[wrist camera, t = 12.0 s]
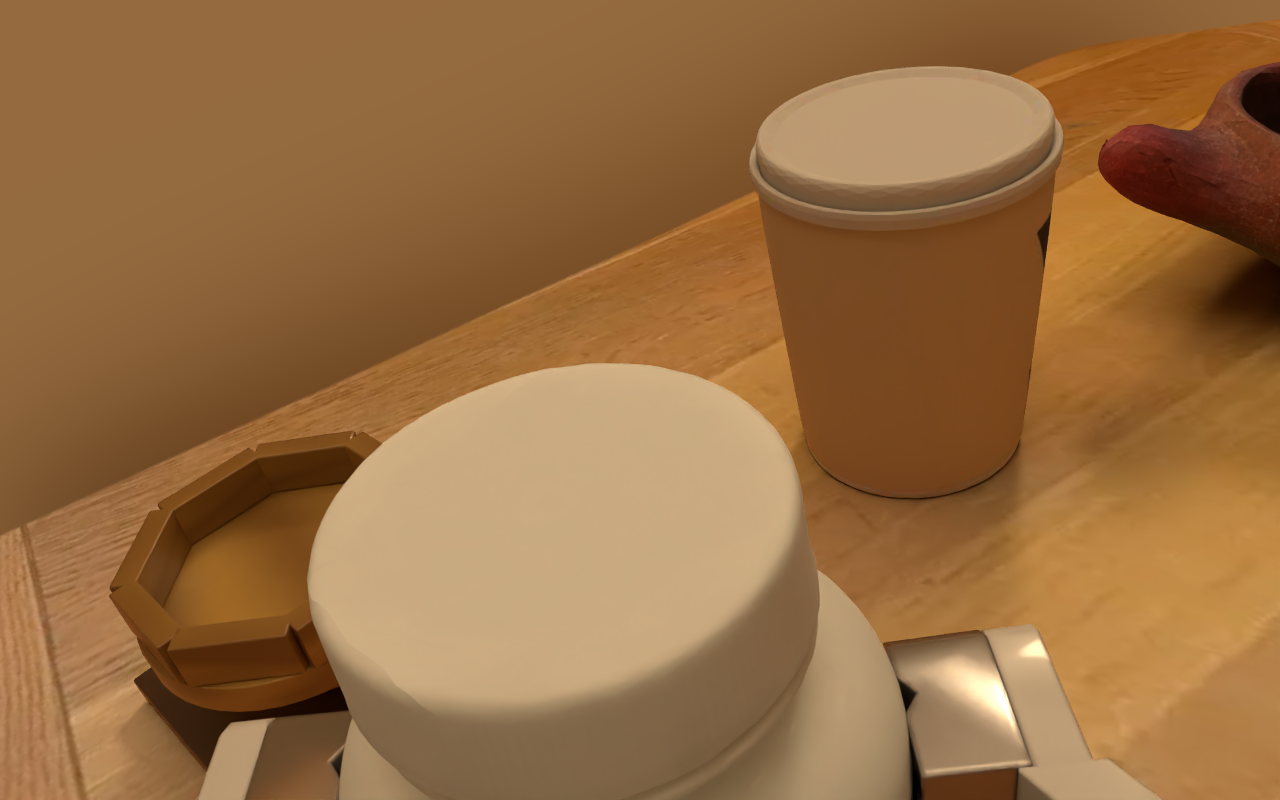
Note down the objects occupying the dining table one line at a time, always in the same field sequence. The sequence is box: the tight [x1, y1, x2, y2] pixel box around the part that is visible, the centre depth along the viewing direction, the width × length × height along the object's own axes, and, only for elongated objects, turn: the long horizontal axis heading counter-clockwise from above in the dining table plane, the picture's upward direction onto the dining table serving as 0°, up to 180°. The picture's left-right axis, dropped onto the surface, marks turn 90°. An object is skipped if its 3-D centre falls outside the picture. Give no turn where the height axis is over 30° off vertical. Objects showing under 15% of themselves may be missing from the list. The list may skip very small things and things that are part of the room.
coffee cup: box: [749, 66, 1064, 498], centre depth 37 cm, size 9×9×12 cm
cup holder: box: [109, 431, 382, 772], centre depth 33 cm, size 10×10×6 cm
